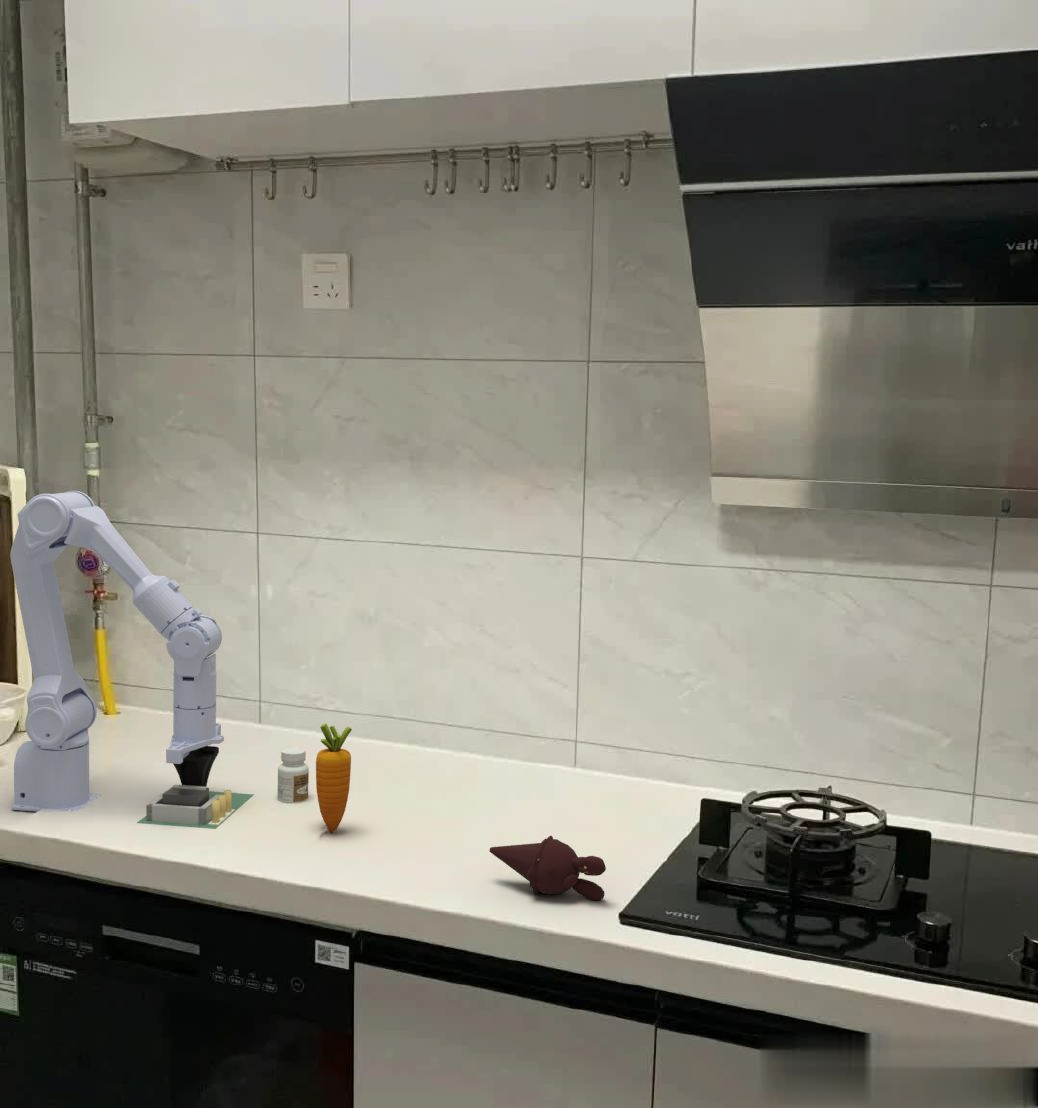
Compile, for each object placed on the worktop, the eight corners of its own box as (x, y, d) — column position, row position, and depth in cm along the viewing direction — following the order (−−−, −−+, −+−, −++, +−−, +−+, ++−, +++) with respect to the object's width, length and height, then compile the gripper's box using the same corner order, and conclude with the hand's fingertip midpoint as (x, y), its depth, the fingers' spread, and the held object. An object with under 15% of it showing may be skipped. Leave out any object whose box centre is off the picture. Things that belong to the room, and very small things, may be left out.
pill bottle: (301, 808, 166) (302, 755, 165) (272, 805, 167) (273, 753, 166) (312, 799, 170) (313, 747, 170) (284, 796, 171) (285, 745, 170)
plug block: (162, 819, 158) (162, 791, 158) (174, 809, 162) (174, 783, 161) (197, 821, 157) (197, 794, 157) (209, 812, 161) (209, 785, 161)
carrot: (356, 828, 158) (358, 720, 157) (341, 840, 154) (343, 729, 152) (323, 824, 160) (325, 717, 158) (307, 836, 155) (308, 725, 153)
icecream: (475, 841, 137) (594, 875, 131) (503, 809, 143) (617, 840, 138) (476, 889, 140) (592, 925, 134) (503, 856, 146) (615, 888, 140)
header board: (136, 826, 156) (136, 800, 156) (181, 793, 171) (181, 769, 171) (215, 832, 155) (215, 806, 155) (254, 798, 170) (254, 774, 169)
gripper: (202, 719, 154) (201, 818, 155) (241, 695, 168) (240, 786, 170) (151, 715, 155) (151, 814, 156) (194, 692, 169) (194, 783, 170)
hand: (194, 800), depth 163 cm, fingers closed
